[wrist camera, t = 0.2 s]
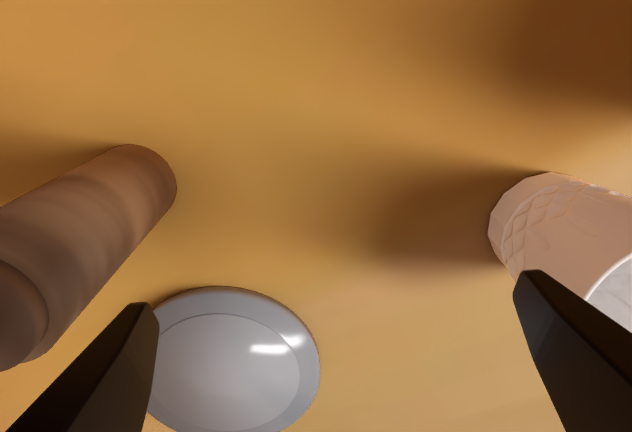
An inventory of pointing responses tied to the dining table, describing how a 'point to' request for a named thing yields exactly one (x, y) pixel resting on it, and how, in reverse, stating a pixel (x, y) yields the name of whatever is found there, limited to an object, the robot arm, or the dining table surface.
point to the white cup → (569, 238)
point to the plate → (231, 363)
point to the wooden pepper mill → (73, 243)
